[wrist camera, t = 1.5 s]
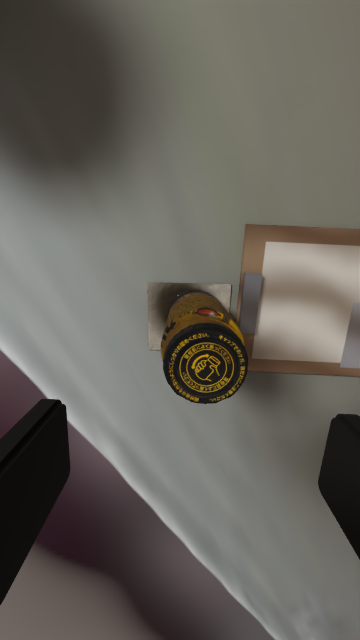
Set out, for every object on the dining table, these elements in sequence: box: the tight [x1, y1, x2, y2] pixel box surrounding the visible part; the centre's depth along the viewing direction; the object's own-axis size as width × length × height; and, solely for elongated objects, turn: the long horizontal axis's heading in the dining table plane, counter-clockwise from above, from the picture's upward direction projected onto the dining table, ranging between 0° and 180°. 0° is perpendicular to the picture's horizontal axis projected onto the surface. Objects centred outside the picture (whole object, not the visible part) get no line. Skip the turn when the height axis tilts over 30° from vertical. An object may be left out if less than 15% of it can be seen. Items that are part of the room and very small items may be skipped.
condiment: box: [148, 283, 249, 404], centre depth 21 cm, size 7×8×12 cm
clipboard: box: [236, 224, 360, 376], centre depth 25 cm, size 15×22×1 cm
